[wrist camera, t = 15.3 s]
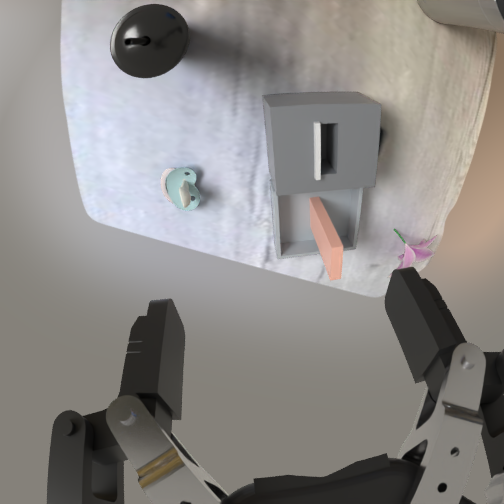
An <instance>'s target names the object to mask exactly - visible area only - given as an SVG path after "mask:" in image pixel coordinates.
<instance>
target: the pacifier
mask: <svg viewBox="0 0 504 504" xmlns="http://www.w3.org/2000/svg"><path fill="white" fill-rule="evenodd" d="M185 172H189V173H190V175H187V174H185ZM166 179H167V181H166ZM195 182H196V174H195V172H194V171H193V170H192V169H190V168H187V167H180V168H176V169H175V168H169V169H166V170H165V171H164V172H163V174H162V177H161V189H162V192H163V194H164V196H165V197H166V198H167V200H168V201H170V202H171V203H174V204H175V206H177V207H178V208H180V209H182V210H185V211H190V210H193V209H195V208H196V207H197V206H198V204H199V202H200V193H199V191H198V189H197V187H196V186H195V185H194V184H195ZM166 185H167V186H166ZM191 196H194V197H195V200H194V201H192V200H191Z"/></svg>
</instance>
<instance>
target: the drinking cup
mask: <svg viewBox="0 0 504 504" xmlns="http://www.w3.org/2000/svg"><path fill="white" fill-rule="evenodd" d="M189 42H190V34H189V28H188V25H187V23H186V21H185V19H184V18H183V17H182V15H181V14H180V13H178V12H177V11H176V10H174V9H172V8H171V7H168V6H165V5H160V4H149V5H144V6H140V7H138V8H135V9H133V10H132V11H130V12H129V13H127V14H126V15H125V16H124V17H123V18H122V19H121V20H120V21H119V22H118V23H117V25H116V27H115V28H114V30H113V33H112V36H111V41H110V50H111V55H112V58H113V60H114V62H115V63H116V65H117V66H118V67H119V68H120V69H121V70H122V71H123V72H125V73H127V74H128V75H131V76H134V77H138V78H152V77H156V76H160V75H162V74H164V73H166V72H168V71H170V70H171V69H173V68H174V67H175V66H176V65H177V64H178V63H179V62H180V61H181V60H182V58H183V57H184V55H185V53H186V51H187V49H188V45H189Z"/></svg>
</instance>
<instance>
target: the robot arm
mask: <svg viewBox="0 0 504 504" xmlns="http://www.w3.org/2000/svg"><path fill="white" fill-rule="evenodd" d="M417 1H418V3H419V5H420V7H421V9H422V10H423V11H424V13H425V14H426V15H427V16H428V17H430V18H431V19H432V20H434V21H436V22H438V23H442V24H451V25H459V26H466V27H473V28H479V29H484V30H490V31H495V32H499V33H504V0H417ZM385 309H386V312H387V315H388V317H389V319H390V321H391V324H392V326H393V328H394V331H395V333H396V335H397V338H398V340H399V343H400V345H401V347H402V350H403V352H404V355H405V357H406V360H407V362H408V365H409V368H410V370H411V373H412V375H413V378H414V381H415V383H419V382H421V381H426V384H427V387H426V389H425V392H424V395H423V398H422V401H421V404H420V407H419V410H418V413H417V416H416V419H415V422H414V425H413V427H412V430H411V432H410V434H409V436H408V437H407V438H406V440H405V442H404V443H403V445H402V447H401V449H400V451H399V454H398V456H397V458H388V456H387V453H386V454H382V455H379V456H376V457H372V458H368V459H365V460H361V461H357V462H355V463H353V464H351V465H349V466H347V467H345V468H343V469H341V470H339V471H337V472H334V473H332V474H330V475H328V476H325V477H307V476H294V475H284V476H275V477H267V478H255V479H254V483H252V484H248V485H246V486H244V487H242V488H240V489H238V490H237V491H235V492H233V493H232V494H231V495H228V494H227V493H226V491H225V490H224V489H223V488H222V487H221V486H220V485H219V484H218V483H217V482H216V481H215V480H214V479H213V478H212V477H211V476H210V475H209V474H208V473H207V472H206V471H205V470H204V469H203V468H202V467H201V466H200V465H199V464H198V463H197V462H196V460H195V459H194V458H193V457H192V456H191V454H190V453H189V452H188V451H187V449H186V448H185V447H184V446H183V445H182V443H181V442H180V441H179V440H178V438H177V437H176V436H175V435H174V433H173V432H172V431H171V430H172V420H181V410H182V409H181V408H182V384H183V364H184V349H185V332H184V327H183V324H182V321H181V319H180V317H179V314H178V312H177V310H176V307H175V305H174V302H173V301H172V299H162V300H152V301H150V303H149V307H148V312H147V316H139V317H138V318H137V320H136V322H135V323H134V325H133V326H132V328H131V332H130V337H129V344H128V347H127V354H126V358H125V363H124V369H123V375H122V381H121V387H120V392H119V395H118V397H117V398H116V399H115V400H113V401H112V402H111V404H110V405H109V406H108V408H107V409H105V410H103V411H99V412H96V413H92V414H88V415H85V416H81V415H80V414H79V413H77V412H75V411H72V410H69V411H64V412H62V413H61V414H60V415H58V417H57V418H56V419H55V421H54V424H53V429H52V437H51V446H50V456H49V468H48V485H47V504H124V466H123V465H124V461H125V460H129V461H130V462H131V464H132V465H133V467H134V469H135V470H136V472H137V473H138V476H139V479H138V482H139V484H140V486H141V488H142V489H143V491H144V493H145V494H146V495H147V497H148V498H149V499H150V501H151V502H152V503H153V504H476V503H474V502H472V501H471V500H469V499H467V498H466V497H464V496H463V495H462V494H463V491H464V489H465V486H466V483H467V480H468V477H469V474H470V471H471V468H472V464H473V461H474V458H475V454H476V451H477V447H478V443H479V440H480V435H482V439H483V443H484V446H485V451H486V455H487V459H488V463H489V468H490V473H491V478H492V479H491V481H490V483H489V486H488V487H487V488H486V489H485V492H484V495H485V497H486V498H487V503H486V504H504V395H503V394H504V349H503V351H502V352H482V350H481V349H480V348H479V347H478V346H476V345H474V344H472V343H467V341H466V340H465V338H464V336H463V334H462V332H461V331H460V329H459V327H458V325H457V323H456V321H455V319H454V318H453V316H452V314H451V312H450V310H449V309H447V305H446V304H445V302H444V300H442V297H441V295H440V293H439V291H438V290H437V288H436V287H435V286H434V285H433V284H432V283H430V282H429V281H428V280H427V279H426V278H425V279H421V277H420V276H419V274H418V272H417V271H416V269H415V268H414V267H407V268H401V269H395V270H394V271H393V272H392V275H391V279H390V282H389V286H388V289H387V292H386V296H385Z"/></svg>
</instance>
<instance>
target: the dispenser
mask: <svg viewBox="0 0 504 504" xmlns="http://www.w3.org/2000/svg"><path fill="white" fill-rule="evenodd" d="M262 97H263V107H264V118H265V129H266V141H267V152H268V164H269V173H270V176H271V179H272V182H273V186H274V189H275V193H276V196H283V195H292V194H301V193H311V192H322V191H333V190H344V189H356V188H370V187H375V181H376V172H377V161H378V150H379V137H380V120H381V104H380V103H378V102H376V101H374V100H372V99H370V98H368V97H366V96H364V95H362V94H360V93H358V92H306V93H287V94H273V95H262Z"/></svg>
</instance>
